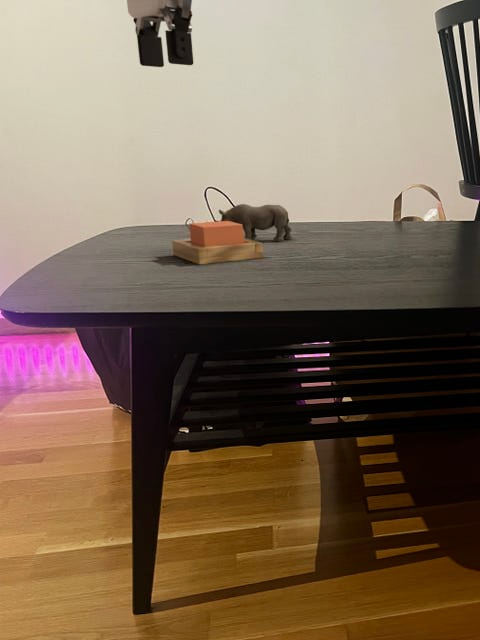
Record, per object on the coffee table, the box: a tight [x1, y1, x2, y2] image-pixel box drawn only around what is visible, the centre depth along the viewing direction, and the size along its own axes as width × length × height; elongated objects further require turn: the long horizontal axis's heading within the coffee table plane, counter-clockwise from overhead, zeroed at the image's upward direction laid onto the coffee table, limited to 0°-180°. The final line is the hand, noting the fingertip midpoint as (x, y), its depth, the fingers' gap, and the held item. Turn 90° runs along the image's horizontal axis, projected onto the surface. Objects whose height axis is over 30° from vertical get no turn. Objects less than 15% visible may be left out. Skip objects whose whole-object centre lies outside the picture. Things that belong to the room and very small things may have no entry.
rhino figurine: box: [213, 203, 293, 242], centre depth 118 cm, size 4×14×6 cm, turn 107°
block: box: [189, 220, 245, 247], centre depth 104 cm, size 6×5×4 cm
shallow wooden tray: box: [171, 237, 264, 265], centre depth 104 cm, size 10×9×2 cm
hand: (166, 65), depth 97 cm, fingers open, 9 cm apart
